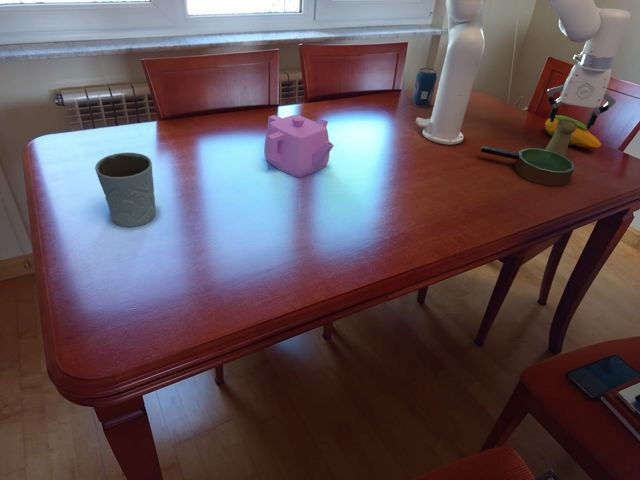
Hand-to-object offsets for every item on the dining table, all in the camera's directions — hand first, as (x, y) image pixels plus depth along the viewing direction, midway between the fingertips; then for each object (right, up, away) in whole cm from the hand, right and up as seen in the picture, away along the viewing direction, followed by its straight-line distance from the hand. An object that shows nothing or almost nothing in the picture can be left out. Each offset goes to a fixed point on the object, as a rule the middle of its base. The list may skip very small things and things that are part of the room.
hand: (569, 124), depth 125 cm
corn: (+8, -2, +15) cm, 17 cm away
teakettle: (-77, -13, -10) cm, 79 cm away
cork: (-1, -8, +6) cm, 10 cm away
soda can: (-35, +16, +34) cm, 52 cm away
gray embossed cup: (-110, -29, -34) cm, 119 cm away
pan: (-15, -13, -3) cm, 20 cm away
